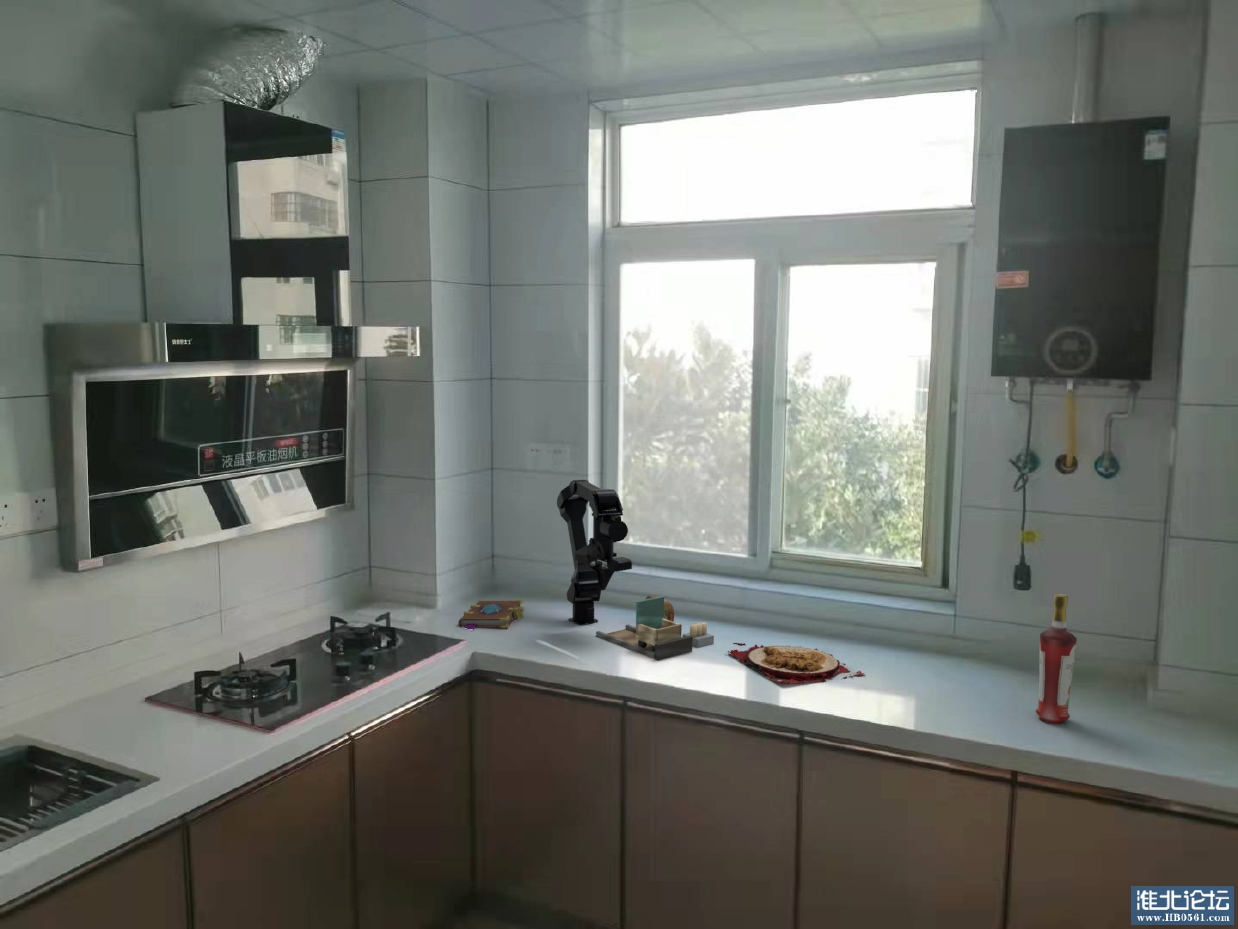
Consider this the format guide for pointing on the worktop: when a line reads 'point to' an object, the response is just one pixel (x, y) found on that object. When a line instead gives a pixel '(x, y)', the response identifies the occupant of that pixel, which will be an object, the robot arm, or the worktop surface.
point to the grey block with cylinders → (700, 635)
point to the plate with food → (792, 663)
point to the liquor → (1056, 666)
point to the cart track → (661, 649)
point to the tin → (666, 609)
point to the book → (492, 614)
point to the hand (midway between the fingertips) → (602, 589)
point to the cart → (654, 623)
